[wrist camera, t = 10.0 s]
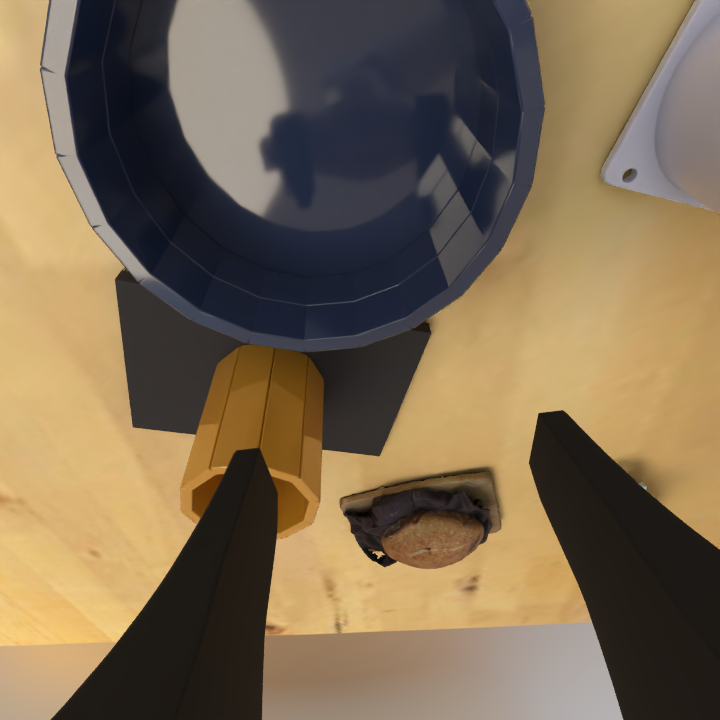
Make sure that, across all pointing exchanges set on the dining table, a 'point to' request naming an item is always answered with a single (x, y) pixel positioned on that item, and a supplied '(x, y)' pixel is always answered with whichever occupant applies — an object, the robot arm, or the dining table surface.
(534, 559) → the dining table surface
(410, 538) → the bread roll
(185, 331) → the pot holder
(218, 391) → the cup
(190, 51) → the pot
